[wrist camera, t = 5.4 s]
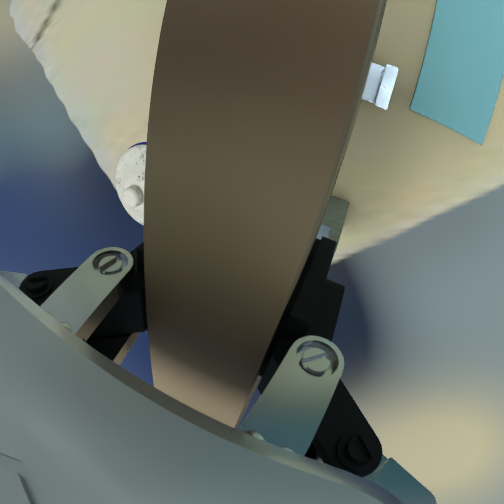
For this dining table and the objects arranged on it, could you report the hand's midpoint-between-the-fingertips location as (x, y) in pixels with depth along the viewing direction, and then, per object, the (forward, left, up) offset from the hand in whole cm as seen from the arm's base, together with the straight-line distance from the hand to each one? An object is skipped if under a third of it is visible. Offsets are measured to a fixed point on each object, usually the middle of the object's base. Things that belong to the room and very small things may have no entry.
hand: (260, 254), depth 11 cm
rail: (0, 0, 0) cm, 0 cm away
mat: (-17, +10, -22) cm, 29 cm away
